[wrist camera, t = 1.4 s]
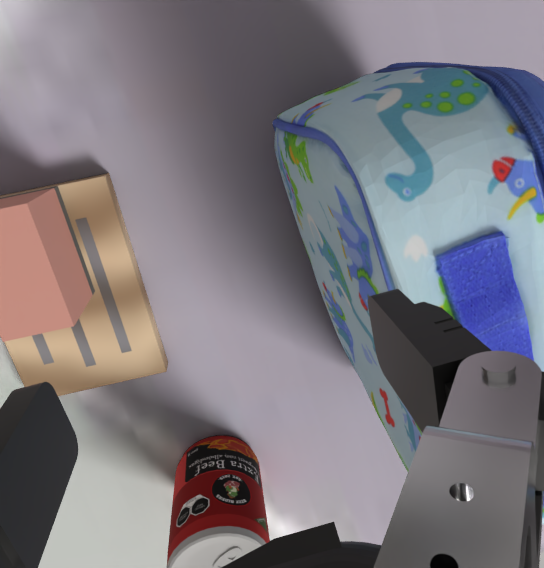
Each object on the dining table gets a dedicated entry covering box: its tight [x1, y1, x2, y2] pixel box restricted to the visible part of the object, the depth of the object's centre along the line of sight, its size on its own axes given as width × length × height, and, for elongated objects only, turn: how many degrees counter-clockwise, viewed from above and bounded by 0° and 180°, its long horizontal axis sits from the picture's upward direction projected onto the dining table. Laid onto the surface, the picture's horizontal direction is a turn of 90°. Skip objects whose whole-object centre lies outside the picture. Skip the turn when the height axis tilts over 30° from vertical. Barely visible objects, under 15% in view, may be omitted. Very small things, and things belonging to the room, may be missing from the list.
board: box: [0, 173, 168, 396], centre depth 37 cm, size 16×11×2 cm
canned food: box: [167, 436, 270, 568], centre depth 40 cm, size 8×8×11 cm
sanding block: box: [0, 186, 95, 342], centre depth 32 cm, size 8×4×6 cm, turn 11°
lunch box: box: [273, 62, 544, 524], centre depth 29 cm, size 26×11×21 cm, turn 22°
